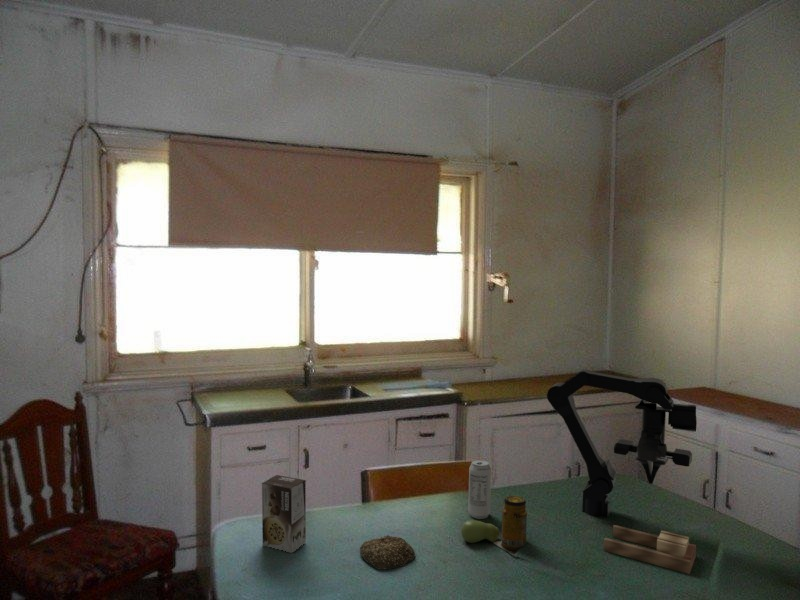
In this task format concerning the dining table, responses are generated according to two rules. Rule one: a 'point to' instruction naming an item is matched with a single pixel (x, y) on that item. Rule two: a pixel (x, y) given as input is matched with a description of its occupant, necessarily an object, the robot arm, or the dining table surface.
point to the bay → (648, 554)
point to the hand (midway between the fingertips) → (650, 483)
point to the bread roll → (387, 552)
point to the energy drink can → (479, 489)
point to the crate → (672, 544)
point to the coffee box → (284, 513)
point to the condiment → (513, 524)
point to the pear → (479, 531)
